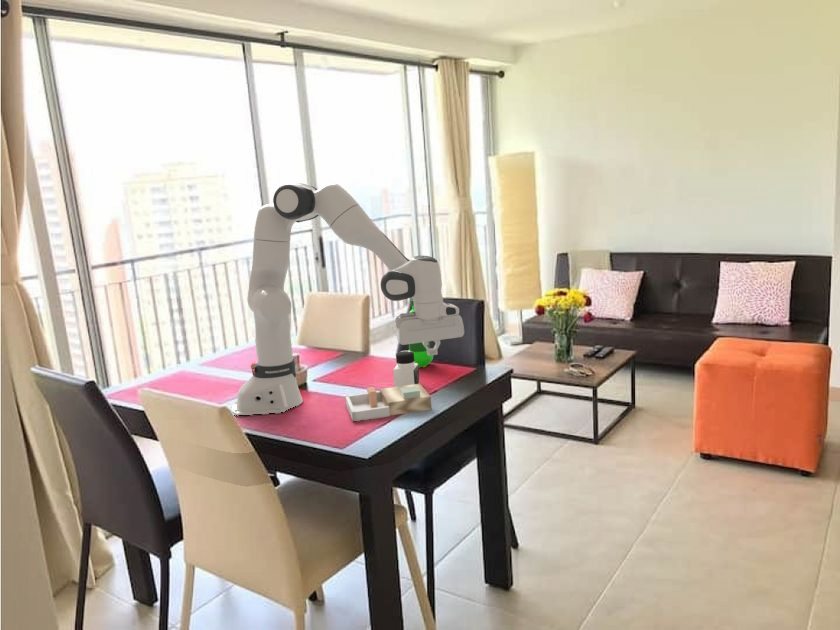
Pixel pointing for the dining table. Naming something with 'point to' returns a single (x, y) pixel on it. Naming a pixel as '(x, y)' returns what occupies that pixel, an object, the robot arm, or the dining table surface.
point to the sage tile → (410, 392)
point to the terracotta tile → (372, 397)
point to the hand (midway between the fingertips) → (432, 354)
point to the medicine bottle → (405, 369)
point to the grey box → (365, 407)
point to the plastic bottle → (420, 350)
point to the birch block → (405, 400)
